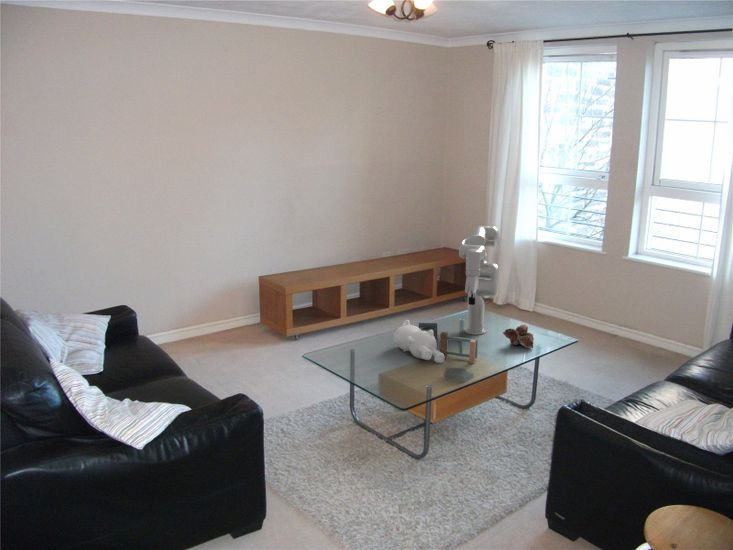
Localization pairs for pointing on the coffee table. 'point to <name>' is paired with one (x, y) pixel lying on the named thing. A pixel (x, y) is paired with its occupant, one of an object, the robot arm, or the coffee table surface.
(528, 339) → the seed pod
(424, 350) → the teddy bear
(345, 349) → the coffee table surface
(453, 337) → the gate
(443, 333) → the gate post
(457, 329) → the coffee table surface
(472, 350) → the post
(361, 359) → the coffee table surface
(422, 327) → the small box
